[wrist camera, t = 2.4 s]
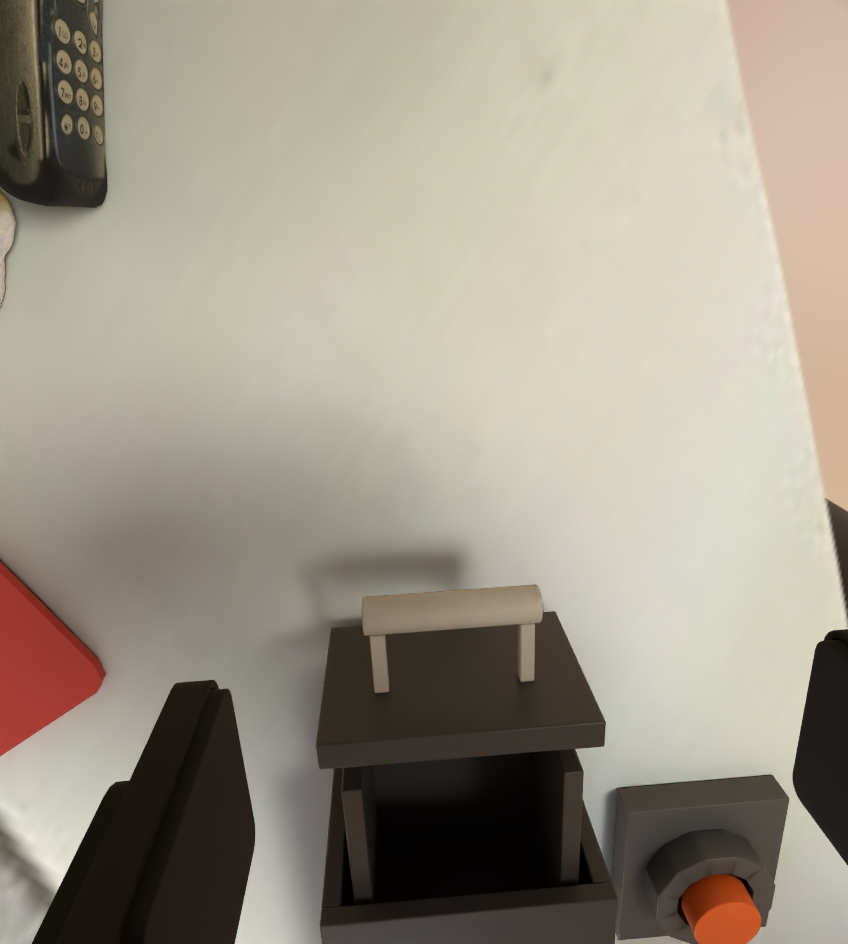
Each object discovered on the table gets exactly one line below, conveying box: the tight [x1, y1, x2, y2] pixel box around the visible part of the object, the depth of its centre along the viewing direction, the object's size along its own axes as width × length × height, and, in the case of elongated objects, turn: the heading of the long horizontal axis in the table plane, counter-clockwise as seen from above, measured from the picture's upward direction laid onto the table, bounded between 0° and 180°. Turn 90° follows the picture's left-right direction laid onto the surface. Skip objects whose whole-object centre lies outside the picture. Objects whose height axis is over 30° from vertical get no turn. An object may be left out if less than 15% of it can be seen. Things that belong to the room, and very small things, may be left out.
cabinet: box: [320, 768, 618, 944], centre depth 34 cm, size 15×12×10 cm
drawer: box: [316, 585, 606, 905], centre depth 30 cm, size 18×11×8 cm, turn 3°
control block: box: [612, 775, 789, 944], centre depth 38 cm, size 9×10×4 cm
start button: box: [681, 874, 761, 944], centre depth 36 cm, size 4×4×2 cm
